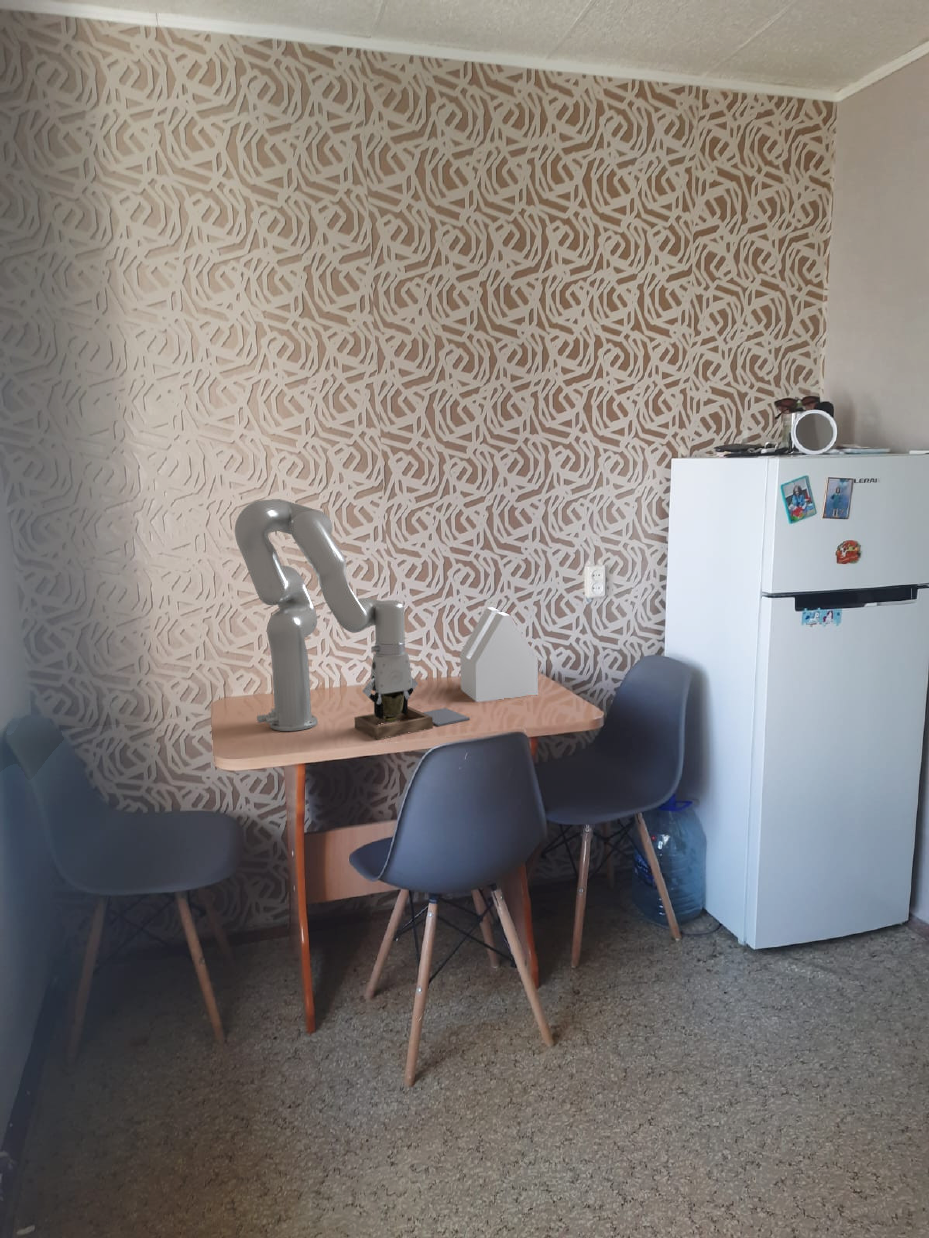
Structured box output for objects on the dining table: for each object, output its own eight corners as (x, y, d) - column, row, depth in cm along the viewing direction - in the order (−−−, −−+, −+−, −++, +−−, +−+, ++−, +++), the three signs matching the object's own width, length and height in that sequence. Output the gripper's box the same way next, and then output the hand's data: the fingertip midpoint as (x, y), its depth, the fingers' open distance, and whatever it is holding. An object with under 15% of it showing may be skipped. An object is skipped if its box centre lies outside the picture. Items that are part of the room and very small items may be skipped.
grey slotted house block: (476, 702, 245) (475, 617, 241) (460, 689, 259) (459, 609, 255) (537, 696, 250) (537, 613, 246) (519, 683, 265) (518, 605, 261)
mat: (438, 726, 222) (438, 724, 222) (414, 716, 232) (414, 714, 232) (469, 719, 228) (469, 717, 228) (445, 709, 237) (445, 707, 237)
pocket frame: (377, 740, 212) (376, 728, 211) (355, 728, 222) (354, 717, 222) (432, 728, 221) (432, 717, 220) (408, 717, 231) (408, 706, 231)
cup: (379, 726, 217) (378, 696, 215) (374, 718, 224) (373, 689, 222) (407, 724, 219) (407, 694, 217) (401, 715, 226) (401, 687, 224)
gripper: (367, 655, 210) (368, 724, 213) (426, 647, 220) (426, 713, 223) (353, 649, 216) (354, 717, 219) (411, 642, 226) (412, 706, 229)
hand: (391, 714), depth 221 cm, fingers closed on cup, 6 cm apart
